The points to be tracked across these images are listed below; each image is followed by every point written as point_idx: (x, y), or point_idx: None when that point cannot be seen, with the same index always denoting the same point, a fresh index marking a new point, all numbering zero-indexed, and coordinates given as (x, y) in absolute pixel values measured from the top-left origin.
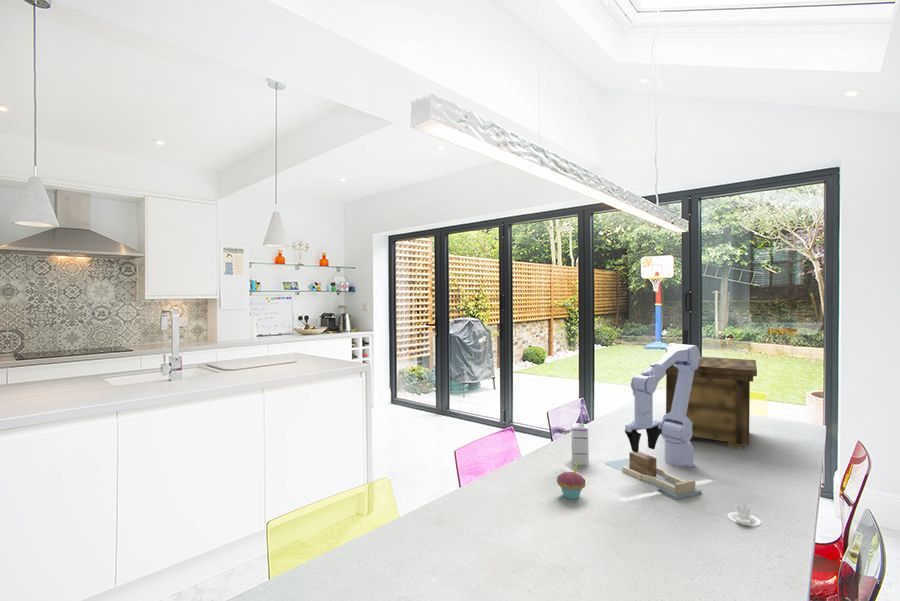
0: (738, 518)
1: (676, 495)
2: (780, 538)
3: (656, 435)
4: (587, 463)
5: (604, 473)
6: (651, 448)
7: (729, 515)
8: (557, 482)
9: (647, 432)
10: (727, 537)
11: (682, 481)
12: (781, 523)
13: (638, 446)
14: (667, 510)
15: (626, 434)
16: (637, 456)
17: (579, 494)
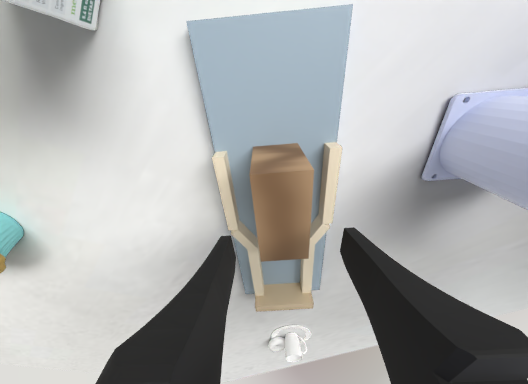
0: (272, 347)
1: (249, 292)
2: (284, 357)
3: (383, 354)
4: (71, 23)
5: (153, 118)
6: (341, 245)
7: (281, 329)
8: None
9: (406, 310)
10: (227, 349)
11: (302, 282)
12: (324, 346)
13: (228, 292)
14: None
15: (143, 328)
16: (255, 218)
17: (14, 245)
